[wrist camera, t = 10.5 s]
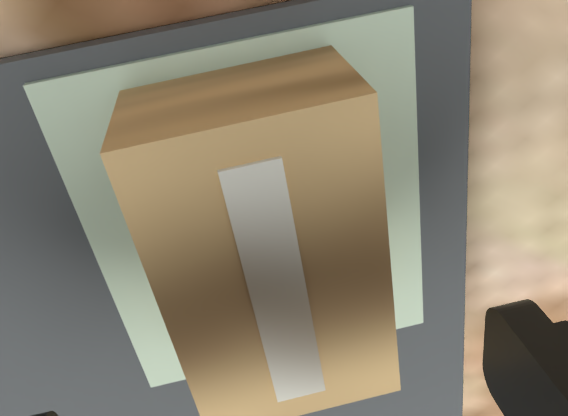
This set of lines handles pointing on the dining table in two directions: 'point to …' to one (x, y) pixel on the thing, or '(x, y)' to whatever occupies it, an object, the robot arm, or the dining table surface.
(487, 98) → the dining table surface
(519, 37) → the dining table surface
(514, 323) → the robot arm
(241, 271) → the oak block
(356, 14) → the rubber mat
